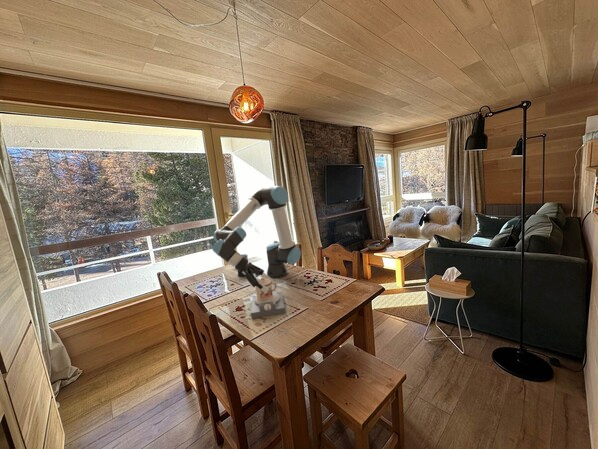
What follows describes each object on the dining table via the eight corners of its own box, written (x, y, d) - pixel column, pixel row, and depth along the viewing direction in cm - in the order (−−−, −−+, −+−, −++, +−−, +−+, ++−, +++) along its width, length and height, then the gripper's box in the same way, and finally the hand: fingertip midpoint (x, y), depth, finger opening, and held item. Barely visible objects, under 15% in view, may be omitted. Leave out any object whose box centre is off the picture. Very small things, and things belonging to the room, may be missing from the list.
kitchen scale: (253, 301, 146) (251, 290, 145) (282, 296, 148) (281, 286, 147) (251, 318, 127) (250, 307, 126) (285, 313, 129) (284, 301, 128)
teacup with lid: (260, 303, 133) (257, 282, 131) (254, 297, 141) (251, 277, 139) (280, 296, 139) (278, 276, 137) (274, 291, 147) (271, 272, 145)
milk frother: (237, 273, 197) (235, 255, 194) (257, 270, 201) (255, 252, 198) (238, 279, 183) (235, 260, 181) (260, 275, 187) (257, 256, 185)
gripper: (240, 260, 149) (268, 282, 151) (227, 275, 125) (260, 301, 126) (248, 250, 148) (276, 273, 150) (236, 264, 124) (270, 290, 125)
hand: (269, 286), depth 138 cm, fingers open, 13 cm apart
